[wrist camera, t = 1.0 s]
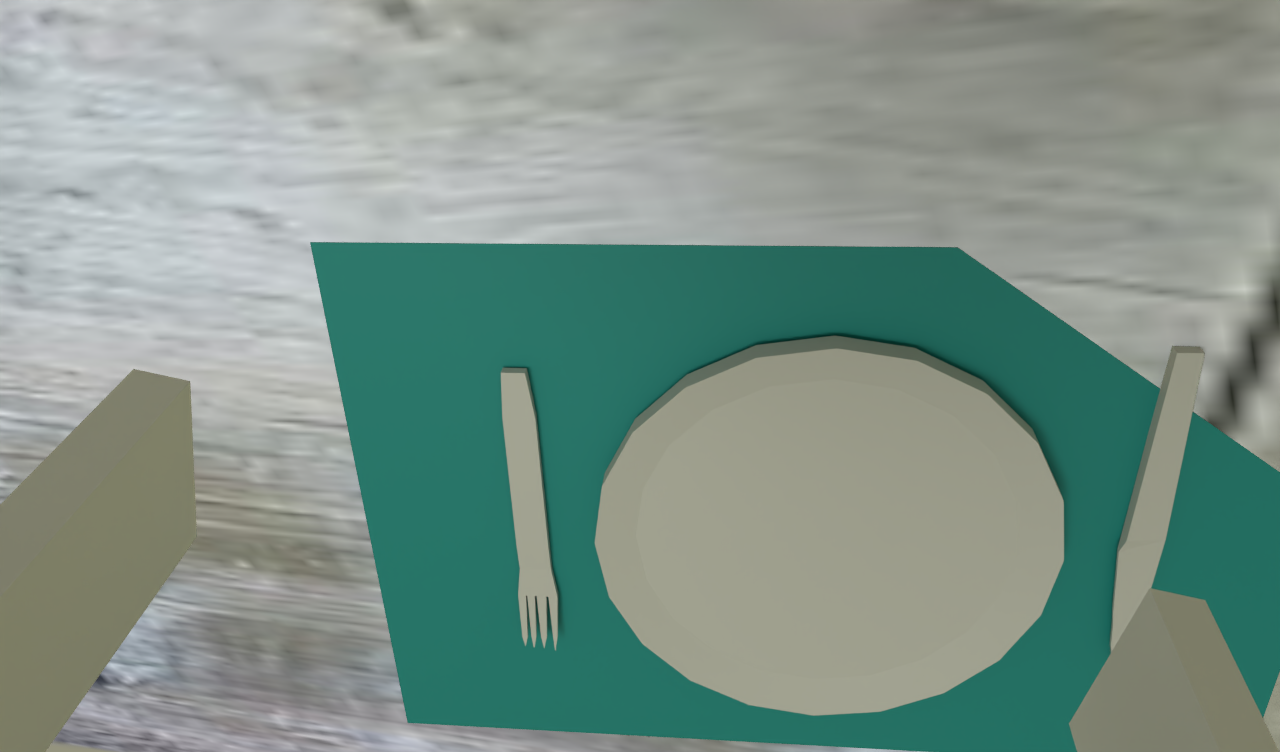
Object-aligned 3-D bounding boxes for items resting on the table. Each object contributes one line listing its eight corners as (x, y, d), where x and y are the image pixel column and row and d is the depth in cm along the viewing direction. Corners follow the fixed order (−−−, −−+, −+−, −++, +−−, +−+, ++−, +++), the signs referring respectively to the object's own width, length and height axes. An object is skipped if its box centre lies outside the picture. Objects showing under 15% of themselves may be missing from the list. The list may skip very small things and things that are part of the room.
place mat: (393, 726, 59) (380, 759, 57) (282, 204, 44) (259, 225, 42) (1257, 774, 55) (1275, 813, 53) (1467, 208, 39) (1503, 232, 37)
